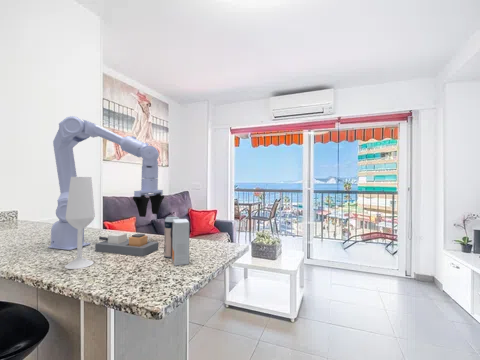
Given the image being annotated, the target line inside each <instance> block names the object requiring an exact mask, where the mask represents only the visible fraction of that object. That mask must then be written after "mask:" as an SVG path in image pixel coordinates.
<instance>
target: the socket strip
mask: <svg viewBox="0 0 480 360" xmlns="http://www.w3.org/2000/svg"><path fill="white" fill-rule="evenodd" d="M98 240H100V242H97V243H95V245H94V247H95V248H94V252H96V253H97V252H99V253H107V254H108V253H109V254H118V255H124V256H126V255H127V256H136V257H145V256H147V255H150V254H151V253H154V252H156V251H159V241H152V240H151V241H150V240H148V241H147V244H145V245H143V246H140V247H138V246H129V238H128V235H127V233H123V232H114V233H111V234H107V236H100V237H99V239H98Z"/></svg>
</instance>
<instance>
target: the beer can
mask: <svg viewBox="0 0 480 360" xmlns="http://www.w3.org/2000/svg"><path fill="white" fill-rule="evenodd" d="M173 219H180V217H179V216H167V217H165V219H164V235H163V236H164V237H163V238H164V239H163V243H164V244H163V256H164V257H166V258H169V259H172V238H173Z"/></svg>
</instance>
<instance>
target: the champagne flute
mask: <svg viewBox="0 0 480 360" xmlns="http://www.w3.org/2000/svg"><path fill="white" fill-rule="evenodd" d="M95 217H96V214H95V204H94V191H93V179H92V177H91V176H90V177H89V176H77V177H71V180H70V188H69V195H68V202H67V210H66V217H65V218H66V220H67V222H68V223H69V224H70V225H71V226H73V227H74V228H76V229H78V239H77V248H76V258H74V259H73V260H71V261H70V262H69V263H67V264H65V266H64V268H65V269H67V270H76V269H85V268H87V267H90V266H92V265H94V261H92V260H90V259H87V258H86V257H83V247H82V243H83V229H84V230H85V228H86V227H88V226H89V225H90V224H91V223H92V222H93V221H94V219H95Z"/></svg>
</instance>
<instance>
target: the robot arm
mask: <svg viewBox="0 0 480 360" xmlns="http://www.w3.org/2000/svg"><path fill="white" fill-rule="evenodd" d="M90 137H91V138H98V137H100V138H102V139H105V140H107V141H110V142H112V143H114V144H116V145H119V146H120V149H121V150H122V151H123V152H125V153H127V154H130V155H131V156H132V155H133V156H134V157H136V158H142V159H141V160H142V162H141V163H142V165H141V179H140V180H141V190H134V191H133V197H132V200H133V201H134V203H135V206H136V208H137V212H138V216H139V217H141V218H143V217H144V218H145V217H146V216H147V211H148V203H149V202H150V205H151V214H152V215H158V214H159V211H160V207H161V204H162V202H163V200H164V199H165V195H163V192H164V191H163V190H164V189H159V187H158V186H159V185H158V183H159V166H158V165H159V161H158V159H159V157H160V154H159V151H158V149H157V148H156V147H155V146H153V145H149V144H150V143H148V142H143V141H141V140H139V139H137V136H134V135H131V136H130V135H127V136H121V135H120V134H117V133H116V132H113V131H111V130H109V129H107V128H105V127H103V126H101V125H99V124H96V123H95V122H91V121H89V120H86V119H83V118H82V119H81V118H79V117H77V116H73V115H72V116H71V115H70V116H67V117H66V118H64V119H63V120H62V121H60V122H59V123H58V130H57V132H56V134H55V136H54V139H53V141H52V143H53V144H52V146H53V151H54V153H53V154H54V158H55V164H56V166H55V167H56V171H57V177H58V178H57V179H58V185H59V186H58V187H59V190H60V191H59V192H60V195H59V196H58V198H57V207H56V210H55V215H56V218H57V219H58V220H57V221H56V222H54V223H53V224H52V226H51V228H50V229H51V230H50V245H48V247H47V248H49V249H55V250H56V249H57V250H65V251H72V250H75V249H76V250H77V239H78V229H76V228H74V227H73V226H71V225H70V224H69V223H68V222H67V220H66V218H65V217H66V210H67V202H68V195H69V188H70V180H71V177H78V175H77V168H76V162H75V154H74V147H75V146H76V145H78V144H80V143H81V142H83V141H86V140H87V139H89V138H90ZM89 245H91V243H90V242H85V228H84V229H83V243H82V248H83V247H86V246H89Z"/></svg>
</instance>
